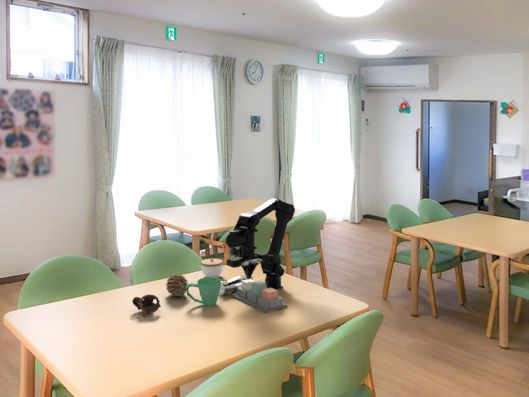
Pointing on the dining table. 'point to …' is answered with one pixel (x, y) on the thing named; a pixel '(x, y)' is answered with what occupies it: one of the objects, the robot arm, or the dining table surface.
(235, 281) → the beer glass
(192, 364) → the dining table surface
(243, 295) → the keypad base
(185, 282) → the pine cone
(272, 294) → the salmon pink block
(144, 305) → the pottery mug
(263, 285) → the key teal
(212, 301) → the mug
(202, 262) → the lidded jar
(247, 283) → the key ivory
